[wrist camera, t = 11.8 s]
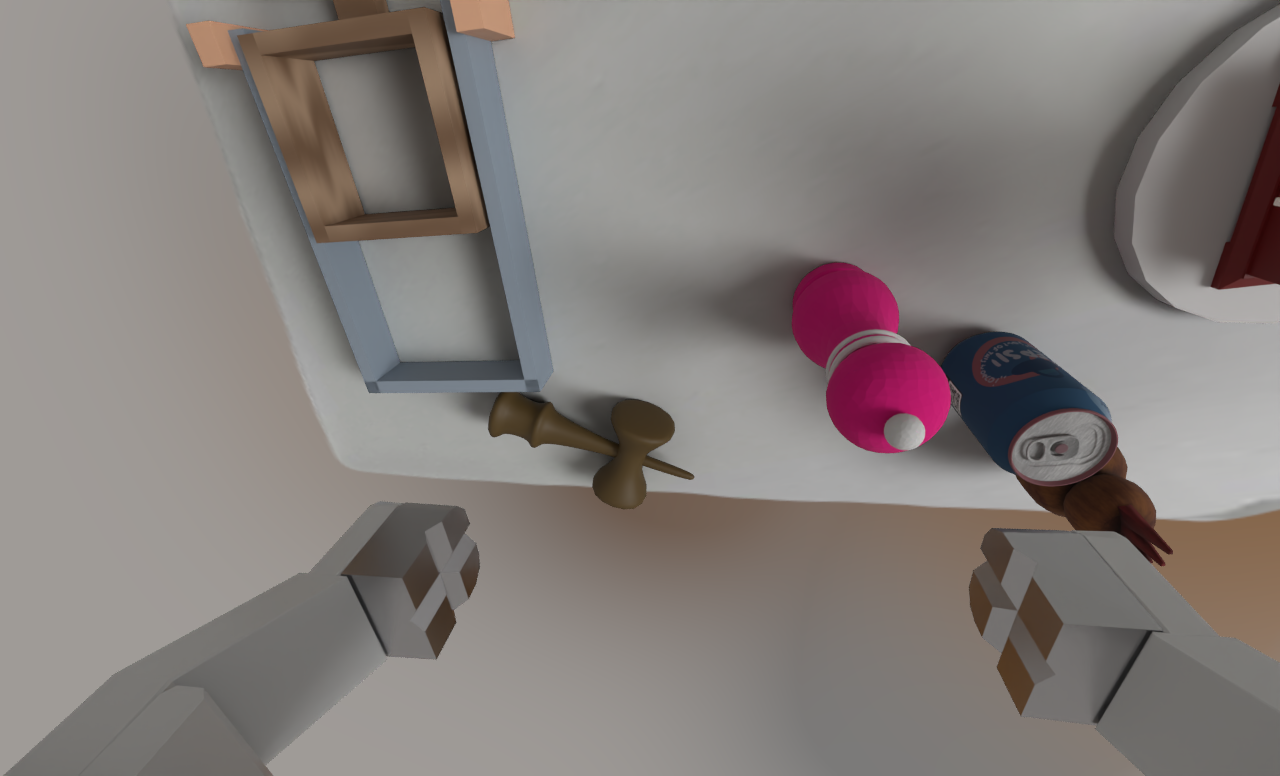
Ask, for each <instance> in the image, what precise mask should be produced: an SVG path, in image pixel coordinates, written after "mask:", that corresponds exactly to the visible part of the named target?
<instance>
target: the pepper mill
mask: <svg viewBox="0 0 1280 776" xmlns="http://www.w3.org/2000/svg"><path fill="white" fill-rule="evenodd" d="M898 324H899V310H898V306H897V303H896V300H895V298H894V296H893V295H892V293H891V291H890V290H889V288H888V287H887V286H886V285H885V284H884V283H883V282H882V281H881V280H880V279H878V278H877V277H875V276H873V275H871V274H869V273H866V272H864V271H863V270H861V269H860V268H858V267H857V266H854V265H851V264H847V263H830V264H825V265H822V266H820V267H818V268H816V269H814V270H813V271H811V272H810V273H808V274H807V275H806V276H805V277H804V278H803V280H802V281H801V282H800V283H799V285H798V287H797V289H796V291H795V293H794V297H793V315H792V330H793V334H794V337H795V340H796V341H797V343H798V345H799V347H800V349H801V350H802V351H803V353H804V354H805V355H806V356H807V357H808V358H809V359H811V360H812V361H813V362H815V363H816V364H817V365H819V366H821V367H823V368H826V380H827V383H828V387H827V391H826V401H827V409H828V412H829V415H830V418H831V420H832V422H833V424H834V425H835V427H836V428H837V429H838V431H839V432H840V433H841V434H842V435H843V436H844V437H845V438H846V439H847V440H849V441H850V442H852V443H853V444H855V445H856V446H858V447H860V448H863V449H865V450H868V451H873V452H877V453H899V452H903V451H908V450H912V449H914V448H916V447H918V446H920V445H922V444H924V443H925V442H927V441H928V440H930V439H931V438H932V437H933V436H934V435H935V434H936V433H937V432H938V431H939V429H940V428H941V427H942V425H943V424H944V422H945V420H946V418H947V415H948V412H949V409H950V403H951V393H950V387H949V383H948V380H947V377H946V375H945V373H944V372H943V370H942V368H941V367H940V366H939V365H938V364H937V363H936V361H935V360H934V359H933V358H932V357H930V356H929V355H928V354H927V353H925V352H924V351H922V350H920V349H918V348H916V347H913V346H911V345H910V344H909V343H908V342H907V341H906V340H905V339H904V338H903V337H901V336H900V335H898V334H897V332H898Z"/></svg>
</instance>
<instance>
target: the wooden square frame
mask: <svg viewBox="0 0 1280 776" xmlns="http://www.w3.org/2000/svg"><path fill="white" fill-rule="evenodd" d="M333 3H334V6H335V9H336V12H337V16H338V19H339V20H336V21H329V22H322V23H316V24H309V25H303V26H296V27H289V28H283V29H276V30H269V31H263V32H256V33H250V34H243V35H237V37H238V40H239V43H240V45H241V48H242V50H243V53H244V56H245V58H246V61H247V63H248V66H249V69H250V71H251V74H252V76H253V79H254V81H255V84H256V87H257V89H258V92H259V94H260V97H261V100H262V102H263V105H264V107H265V110H266V113H267V115H268V118H269V120H270V123H271V126H272V128H273V131H274V133H275V136H276V139H277V141H278V144H279V146H280V149H281V152H282V154H283V157H284V159H285V162H286V165H287V167H288V170H289V172H290V175H291V178H292V180H293V183H294V185H295V188H296V191H297V193H298V196H299V198H300V201H301V204H302V206H303V209H304V211H305V214H306V217H307V219H308V222H309V224H310V227H311V230H312V232H313V235H314V237H315V240H316V243H330V242H345V241H360V240H376V239H391V238H406V237H422V236H437V235H452V234H467V233H478V232H480V231H482V230H484V229H486V228H488V227H490V223H489V218H488V214H487V209H486V205H485V200H484V196H483V191H482V187H481V182H480V178H479V173H478V169H477V164H476V160H475V155H474V151H473V146H472V142H471V137H470V133H469V128H468V124H467V119H466V115H465V110H464V106H463V101H462V97H461V92H460V88H459V83H458V79H457V74H456V70H455V65H454V61H453V56H452V52H451V47H450V43H449V38H448V34H447V30H446V25H445V21H444V16H443V13H440V12H437V11H434V10H431V9H428V8H425V7H422V8H415V9H409V10H402V11H395V12H389V10H388V6H387V2H386V0H333ZM412 47H416V51H417V55H418V59H419V63H420V67H421V71H422V75H423V79H424V83H425V87H426V91H427V95H428V99H429V103H430V107H431V111H432V115H433V119H434V123H435V127H436V131H437V135H438V139H439V143H440V147H441V151H442V155H443V159H444V163H445V167H446V171H447V175H448V179H449V183H450V187H451V191H452V195H453V199H454V203H455V208H444V209H430V210H417V211H404V212H391V213H377V214H365V213H364V210H363V207H362V204H361V201H360V198H359V195H358V192H357V189H356V186H355V183H354V180H353V177H352V174H351V171H350V168H349V165H348V162H347V159H346V156H345V153H344V150H343V147H342V144H341V141H340V138H339V135H338V132H337V129H336V126H335V123H334V120H333V117H332V114H331V111H330V108H329V105H328V102H327V99H326V96H325V93H324V90H323V87H322V84H321V81H320V78H319V75H318V72H317V69H316V65H315V62H314V61H317V60H324V59H332V58H339V57H346V56H354V55H361V54H368V53H376V52H383V51H390V50H398V49H405V48H412Z"/></svg>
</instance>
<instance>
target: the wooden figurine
mask: <svg viewBox="0 0 1280 776" xmlns="http://www.w3.org/2000/svg"><path fill="white" fill-rule="evenodd" d="M1126 474H1127V464H1126V461H1125V458H1124V456H1123V455H1122V453H1121V451H1120V450H1119V448H1118V447H1117V448H1116V451H1115V453H1114V455H1113V457H1112V458H1111V459H1110V461H1109V462H1108V463H1107V464H1106V465H1105V466H1104V467H1103V468H1102V469H1100V470H1099V471H1098V472H1096V473H1095V474H1093V475H1091V476H1090V477H1088V478H1086V479H1083V480H1081V481H1078V482H1075V483H1072V484H1068V485H1062V486H1041V485H1036V484H1032V483H1030V482H1027V481H1025V480H1023V479H1022V478H1020V477H1019V476H1018V475H1016V477H1017V479H1018V480H1019V482H1020V483H1021V485H1022V486H1023V487H1024V489H1025V490H1026V491H1027V492H1028V494H1029V495H1030V496H1031V497H1032V498H1033V499H1034V500H1035V502H1036V503H1037V504H1039V505H1040V506H1042V507H1043V508H1045V509H1046V510H1048V511H1050V512H1052V513H1054V514H1056V515H1059V516H1063V517H1066V518H1067V519H1068V521H1069V522H1070V523H1071V525H1072V526H1073V527H1074V529H1075V530H1076V531H1111V532H1116V533H1118V534H1120V535H1122V536H1124V537H1125V538H1127V539H1128V540H1129V541H1130V542H1131V543H1132V544H1133V545H1134V546H1135V547H1136V548H1137V550H1138V551H1139V552H1140V553H1141V554H1142V555H1143V556H1144V557H1145V558H1146V559H1147V560H1148V561H1149V562H1150V563H1153V561H1152V559H1153V560H1154V561H1155V562H1156V563H1158V564H1159V565H1160V566H1165V562H1164V561H1163V560H1162V558H1161V557H1160V555H1159V554H1158V552H1157V551H1156V550H1155V548H1154V547H1153V545H1152V544H1154V545H1155V546H1157V547H1158V548H1160V549H1161V550H1163V551H1164V552H1166V553H1167V554H1173V551H1172V549H1171V548H1170V547H1169V546H1168V545H1167V544H1166V542H1165V541H1164V540H1163V539H1162V538H1161V537H1160V536H1159V535H1158V534H1157V532H1156V531H1155V530H1154V526H1155V523H1156V510H1155V507H1154V505H1153V503H1152V501H1151V500H1150V498H1149V496H1148V495H1147V494H1146V493H1145V492H1144V491H1143V490H1142V488H1140V487H1139V486H1138V485H1136V484H1135V483H1133V482H1131V481H1129V480H1126ZM1150 542H1151V543H1152V544H1151V543H1150ZM1151 558H1152V559H1151Z"/></svg>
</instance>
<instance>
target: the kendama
mask: <svg viewBox="0 0 1280 776" xmlns="http://www.w3.org/2000/svg"><path fill="white" fill-rule="evenodd" d="M611 422H612V425H613V427H614V429H615V432H616V434H617V436H618V439H619V444H617V443H615V442H613V441H610V440H608V439H606V438H604V437H602V436H599V435H597V434H595V433H593V432H591V431H589V430H587V429H585V428H583V427H581V426H580V425H578V424H576V423H574V422H572V421H570V420H569V419H567V418H565V417H564V416H562V415H561V414H559V413H558V412H557V411H556V410H555V408H554V406H553V404H552V403H551V402H546V403H537V402H534V401H532V400H529V399H528V398H526V397H524V396H523V395H521V394H520V393H519V392H500V393H499V395H498V397H497V398H496V400H495V402H494V405H493V407H492V410H491V412H490V416H489V424H488V430H489V433H490V435H491V436H492V437H497V436H500V435H502V434H512V435H516V436H519V437H522V438H524V439H525V440H527V441H528V442H529V444H530V446H531V447H533V448H535V447H537V446H539V445H541V444H557V445H563V446H569V447H574V448H579V449H584V450H588V451H593V452H597V453H601V454H605V455H609V456H612V457H615V458H614V459H613V460H612V461H610V462H609V463H607V464H606V465H604V466H603V467H601V468H600V469H599V470H598V472H597V473H596V474H595V476H594V478H593V490H594V492H595V495H596V496H597V497H598V498H599V499H600V500H601V501H603V502H604V503H606V504H608V505H610V506H612V507H616V508H621V509H634V508H636V507H637V506H639V505H640V504H642V502H643V500H644V499H645V497H646V481H645V478H644V475H643V471H642V466H646V467H649V468H652V469H655V470H658V471H661V472H664V473H668V474H671V475H674V476H677V477H681V478H685V479H689V480H692V479H694V475H693V474H691V473H689V472H687V471H685V470H683V469H680V468H678V467H675V466H673V465H670V464H668V463H665V462H663V461H660V460H657V459H655V458H652V457H650V456H647V454H648V453H649V452H650V451H652V450H654V449H656V448H658V447H659V446H661V445H663V444H665V443H667V442H668V441H669V440H670V439H671V437H672V436H673V434H674V431H675V426H674V421H673V420H672V418H671V416H670V415H669V414H668V413H667V412H665V411H664V410H663V409H661V408H660V407H658V406H655V405H653V404H651V403H649V402H644V401H640V400H624V401H621V402H619V403H617V404H616V406H615V407H614V408H613V410H612V414H611Z"/></svg>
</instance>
